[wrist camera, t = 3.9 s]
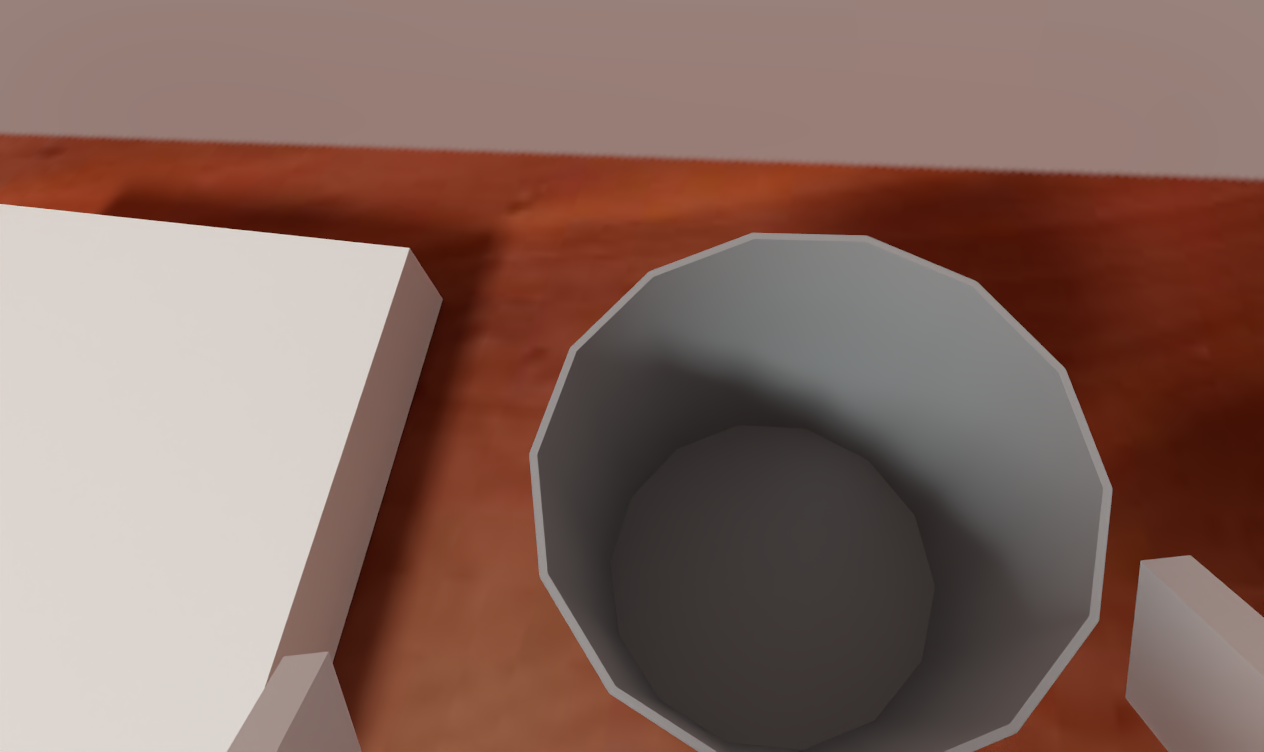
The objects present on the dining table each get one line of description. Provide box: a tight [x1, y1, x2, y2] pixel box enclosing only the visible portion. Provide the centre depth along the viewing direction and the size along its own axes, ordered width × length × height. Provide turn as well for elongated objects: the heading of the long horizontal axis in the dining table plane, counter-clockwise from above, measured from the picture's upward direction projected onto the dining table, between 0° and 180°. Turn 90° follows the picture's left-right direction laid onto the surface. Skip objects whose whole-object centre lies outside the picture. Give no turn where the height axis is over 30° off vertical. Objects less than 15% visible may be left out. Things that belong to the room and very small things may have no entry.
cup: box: [529, 233, 1113, 752], centre depth 16 cm, size 8×8×10 cm
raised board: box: [0, 204, 443, 752], centre depth 22 cm, size 14×16×3 cm
